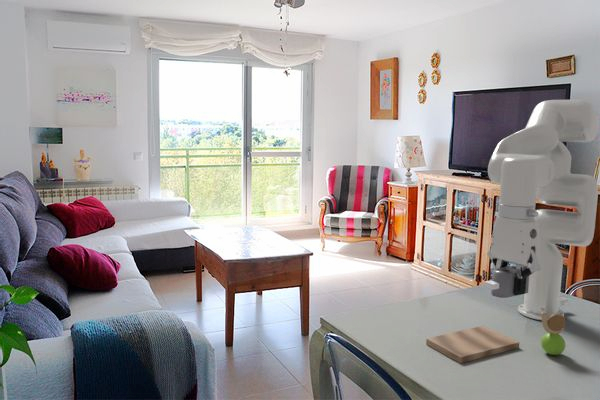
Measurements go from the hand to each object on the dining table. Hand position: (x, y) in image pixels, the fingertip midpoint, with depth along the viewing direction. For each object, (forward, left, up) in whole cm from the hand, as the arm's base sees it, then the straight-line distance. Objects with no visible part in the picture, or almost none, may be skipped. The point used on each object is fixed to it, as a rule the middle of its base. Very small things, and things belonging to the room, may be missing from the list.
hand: (510, 290), depth 120 cm
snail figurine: (-16, 0, -19) cm, 24 cm away
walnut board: (-2, -12, -18) cm, 22 cm away
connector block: (0, 0, 0) cm, 1 cm away
